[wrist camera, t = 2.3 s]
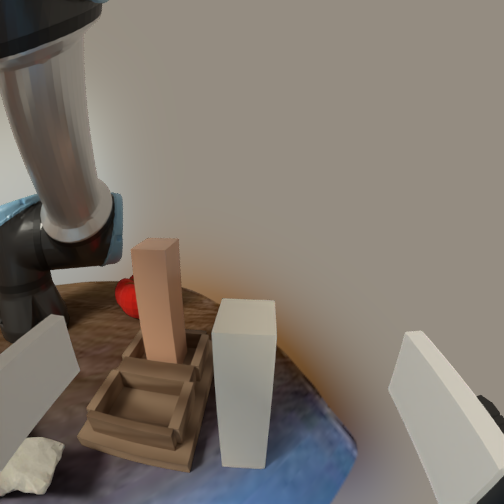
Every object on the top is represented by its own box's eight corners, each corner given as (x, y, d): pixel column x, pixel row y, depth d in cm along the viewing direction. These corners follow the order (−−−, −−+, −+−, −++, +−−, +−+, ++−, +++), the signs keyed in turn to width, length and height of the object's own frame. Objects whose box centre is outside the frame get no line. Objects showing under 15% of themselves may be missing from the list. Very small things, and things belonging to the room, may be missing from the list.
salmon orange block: (149, 369, 34) (130, 249, 29) (160, 348, 39) (147, 237, 34) (178, 373, 34) (165, 250, 29) (187, 351, 38) (178, 238, 34)
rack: (189, 472, 21) (183, 451, 20) (81, 444, 21) (68, 421, 20) (219, 348, 42) (218, 326, 41) (144, 341, 42) (141, 319, 41)
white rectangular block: (222, 466, 22) (211, 332, 18) (227, 430, 27) (222, 298, 22) (264, 468, 22) (276, 335, 17) (265, 432, 27) (274, 300, 22)
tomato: (130, 329, 45) (124, 294, 44) (113, 305, 53) (108, 275, 52) (179, 315, 52) (176, 282, 50) (155, 294, 60) (152, 265, 58)
